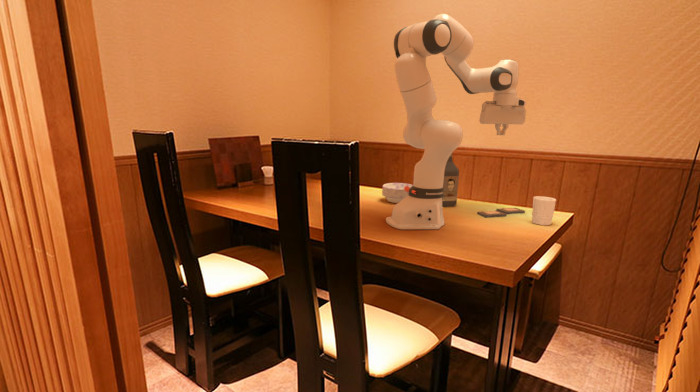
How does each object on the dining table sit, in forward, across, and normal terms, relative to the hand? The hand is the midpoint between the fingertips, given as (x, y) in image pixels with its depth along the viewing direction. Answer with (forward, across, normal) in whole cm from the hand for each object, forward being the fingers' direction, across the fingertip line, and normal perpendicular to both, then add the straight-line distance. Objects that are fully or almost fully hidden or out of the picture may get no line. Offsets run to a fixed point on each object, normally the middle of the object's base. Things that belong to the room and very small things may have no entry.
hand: (500, 135), depth 156 cm
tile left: (+33, -5, -6) cm, 34 cm away
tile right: (+33, +7, -3) cm, 34 cm away
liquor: (+33, -15, +15) cm, 40 cm away
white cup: (+33, +7, -20) cm, 40 cm away
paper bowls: (+33, -34, +26) cm, 54 cm away
